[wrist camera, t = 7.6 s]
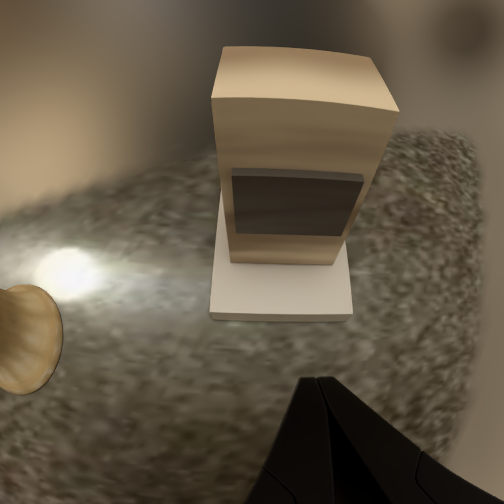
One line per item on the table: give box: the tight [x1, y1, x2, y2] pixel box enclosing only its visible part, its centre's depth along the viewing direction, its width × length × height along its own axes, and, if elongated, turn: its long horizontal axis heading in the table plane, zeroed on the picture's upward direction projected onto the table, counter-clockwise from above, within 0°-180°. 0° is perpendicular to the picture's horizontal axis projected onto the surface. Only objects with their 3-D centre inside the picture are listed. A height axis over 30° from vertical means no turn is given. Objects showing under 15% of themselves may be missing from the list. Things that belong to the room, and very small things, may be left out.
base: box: [209, 191, 353, 322], centre depth 18 cm, size 10×8×6 cm
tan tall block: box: [211, 46, 400, 265], centre depth 14 cm, size 4×6×11 cm
